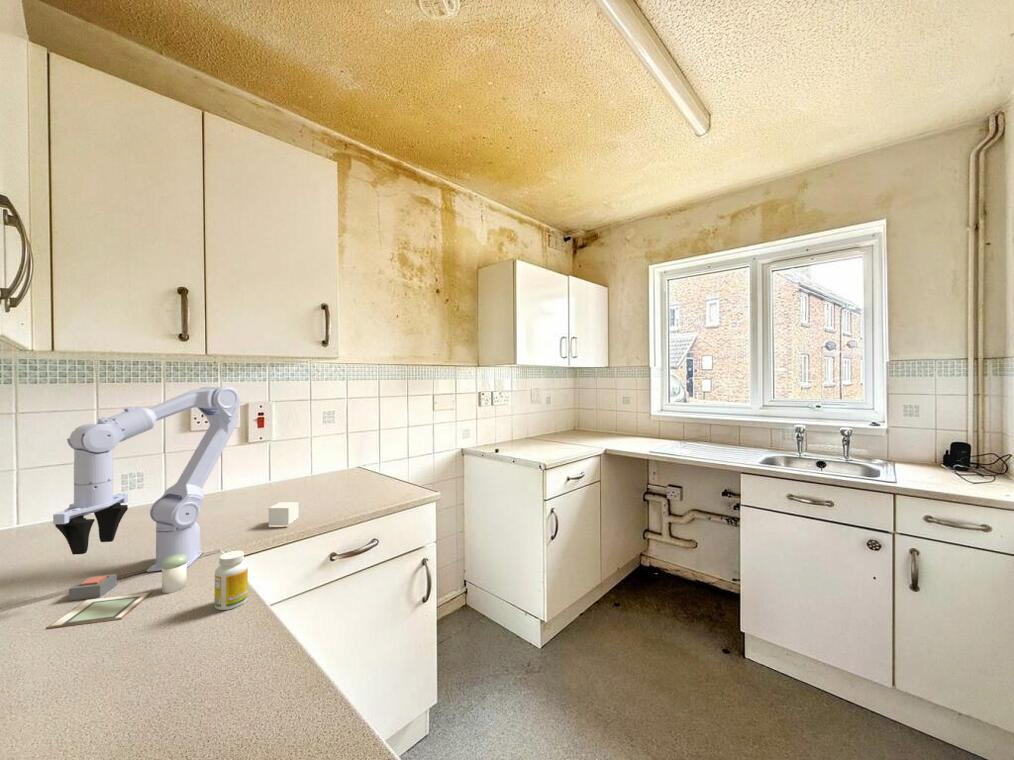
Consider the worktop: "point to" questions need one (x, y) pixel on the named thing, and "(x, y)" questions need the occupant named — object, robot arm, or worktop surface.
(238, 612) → the worktop surface
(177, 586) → the green and cream cylinder
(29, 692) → the worktop surface
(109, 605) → the picture board
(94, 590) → the button housing
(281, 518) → the white cube
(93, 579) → the button
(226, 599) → the supplement bottle
